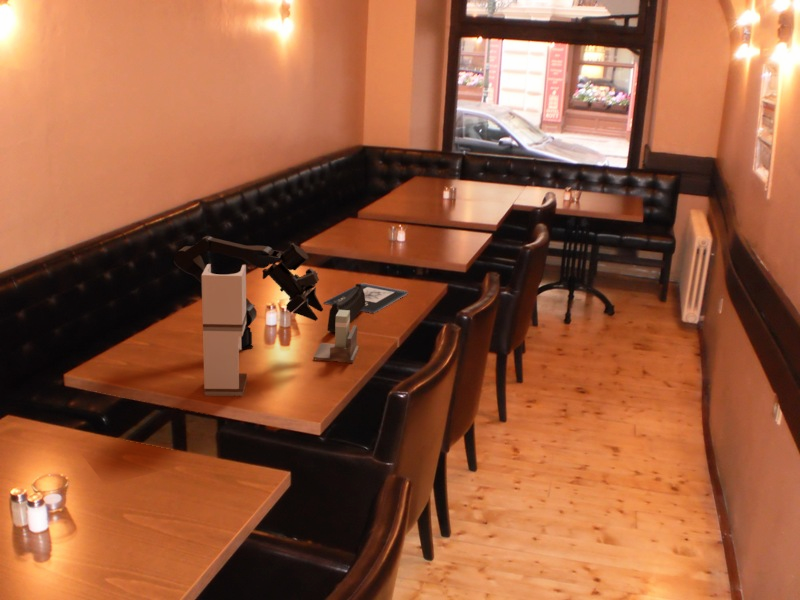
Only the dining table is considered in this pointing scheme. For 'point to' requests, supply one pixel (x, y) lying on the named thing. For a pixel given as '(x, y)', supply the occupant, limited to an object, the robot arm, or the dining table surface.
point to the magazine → (347, 306)
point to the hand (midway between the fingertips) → (319, 315)
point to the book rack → (339, 350)
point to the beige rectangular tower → (223, 331)
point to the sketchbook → (372, 297)
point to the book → (342, 328)
